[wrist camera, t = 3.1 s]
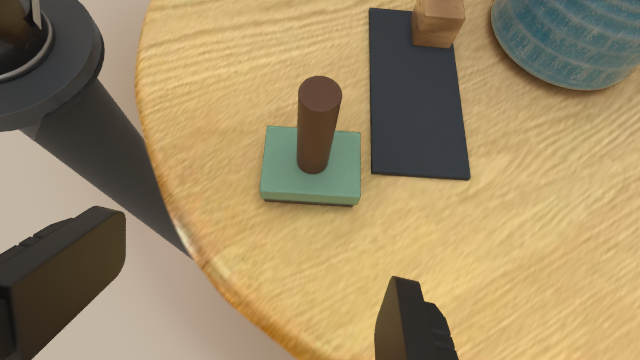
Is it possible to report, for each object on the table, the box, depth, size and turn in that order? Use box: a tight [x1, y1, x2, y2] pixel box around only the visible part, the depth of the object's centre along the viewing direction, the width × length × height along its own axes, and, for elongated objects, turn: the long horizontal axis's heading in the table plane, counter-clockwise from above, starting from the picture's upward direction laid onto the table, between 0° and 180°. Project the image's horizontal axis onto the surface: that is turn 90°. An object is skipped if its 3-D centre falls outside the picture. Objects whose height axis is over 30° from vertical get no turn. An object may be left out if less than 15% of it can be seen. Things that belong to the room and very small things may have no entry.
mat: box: [369, 8, 471, 180], centre depth 37 cm, size 9×20×1 cm, turn 178°
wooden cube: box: [411, 0, 465, 48], centre depth 38 cm, size 4×4×4 cm
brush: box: [260, 76, 361, 207], centre depth 27 cm, size 8×6×12 cm
